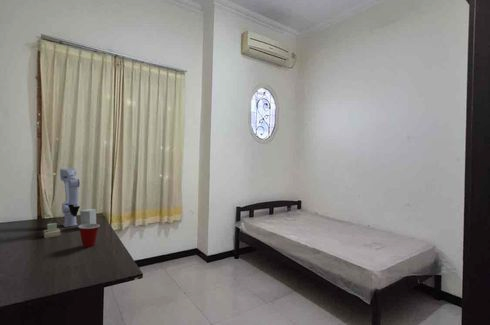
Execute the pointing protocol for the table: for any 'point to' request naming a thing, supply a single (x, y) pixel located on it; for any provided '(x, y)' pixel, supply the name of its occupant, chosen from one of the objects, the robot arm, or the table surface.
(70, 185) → the robot arm
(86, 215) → the supplement box
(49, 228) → the sage cube
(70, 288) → the table surface
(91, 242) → the plastic cup
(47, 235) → the beech base
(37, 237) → the table surface
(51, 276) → the table surface
